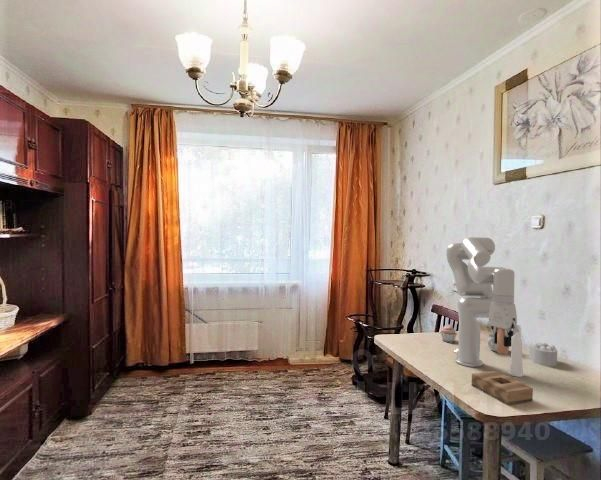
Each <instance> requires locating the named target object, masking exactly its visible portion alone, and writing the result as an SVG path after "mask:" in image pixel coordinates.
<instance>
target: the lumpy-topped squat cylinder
mask: <svg viewBox="0 0 601 480" xmlns="http://www.w3.org/2000/svg"><path fill="white" fill-rule="evenodd" d="M529 360H530V361H532V362H533V363H534V364H537V365H539V366H543V367H550V368H553V367H554V366H555V367H557V365H558V349H557V348H556V346H555V345H553V344H550V345H549V344H548V343H545V342H534V343H530V345H529Z"/></svg>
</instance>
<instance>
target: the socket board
mask: <svg viewBox="0 0 601 480" xmlns="http://www.w3.org/2000/svg"><path fill="white" fill-rule="evenodd" d="M470 385H471V387H474V388H475V389H477V390H479V391H480V390H481V391H480V392H482V391H483V393H484V394H486V395H488V396H490V397H492V398H494V399H495V400H497V401H499V402H500V403H503V404H505V405H506V406H511V405H516V404H523V403H530V402H533V399H534V397H533V396H534V387H532V386H530V385H527V384H525V383H523V382H520V381H518V380H516V379H514V378H513V377H509V376H507V375H505V374H503V373H501V372H499V371H496V370H492V371H491V370H490V371H484V372H483V371H482V372H481V371H480V372H475V373H471V384H470Z"/></svg>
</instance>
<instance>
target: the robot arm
mask: <svg viewBox="0 0 601 480" xmlns="http://www.w3.org/2000/svg"><path fill="white" fill-rule="evenodd" d="M495 251H496V245H495V241H494V240H493V239H492V238H490V237H480V236H479V237H475V236H472V237H466V238H465V239H463V240H462V242H459V243H458V242H457V243H451V244H449V245H447V248H446V259H447V263H448V264H449V267H450V269H451V271H452V273H453V274H452V275H453V278H454V283H455V287H456V291H457V293H458V295H459V296H462V297H463V298H460V299H459V300H458V301H457V313H458V347H457V348H456V350H454V351H453V353H454V354H456V356H455V357H454V362H455V363H457V365H458V364H459V365H461V366H465V367H471V368H472V367H473V368H474V367H476V368H478V367H482V366H483V365H484V361H483V360H481V359H480V354H481V353H480V352H481V325H480V323H479V322H478V321H477V318H478V319H479V318H480V319H488V326H489V327H490V329H491V330H492V334H494V343H495V344H497V327H498V328H502V329H505V336H504V346H505V347H509V348H510V347H512V338H514V334H515V333H517V332H519V329H518V327H517V325H518V315H517V307H516V304H515V271H514V270H513V269H511V268H506V267H500V266H486V265H487V264H488V263H490V262H491V261H490V260H491V256H492V255H493V254H494V253H495ZM463 260H465V261H468V263H466V262H464V261H463ZM492 286H493V287H492ZM508 330H509V333H508Z"/></svg>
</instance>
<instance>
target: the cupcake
mask: <svg viewBox="0 0 601 480" xmlns="http://www.w3.org/2000/svg"><path fill="white" fill-rule="evenodd" d="M439 333H440V336H441V340H442V341H443V342H444V343H454V342H455V340H456V337H457V335H458V333H457V332H456V329H455V328H454V327H453V326H452V324H449V323H447V324H446V325H444V326H443V327H442V328H441V330H440V331H439Z"/></svg>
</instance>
